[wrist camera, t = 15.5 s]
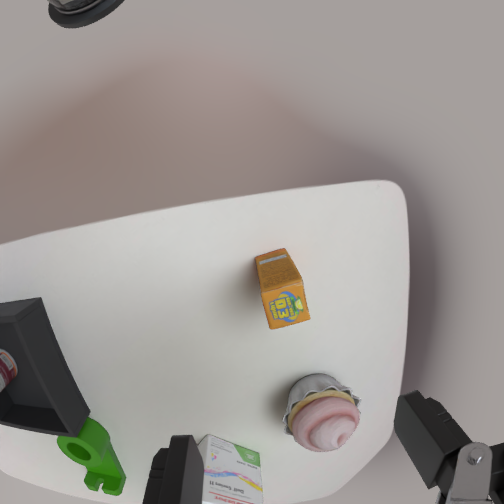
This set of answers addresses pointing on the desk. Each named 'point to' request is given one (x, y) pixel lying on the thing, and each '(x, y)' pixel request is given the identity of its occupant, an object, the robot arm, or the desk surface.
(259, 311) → the desk surface
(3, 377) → the pill bottle
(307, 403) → the cupcake
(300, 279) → the supplement box
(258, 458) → the ink box
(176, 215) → the desk surface
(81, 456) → the green ring bracket
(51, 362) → the tray
